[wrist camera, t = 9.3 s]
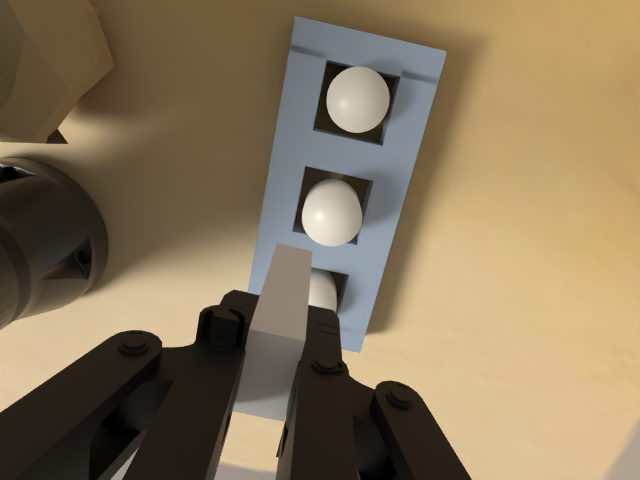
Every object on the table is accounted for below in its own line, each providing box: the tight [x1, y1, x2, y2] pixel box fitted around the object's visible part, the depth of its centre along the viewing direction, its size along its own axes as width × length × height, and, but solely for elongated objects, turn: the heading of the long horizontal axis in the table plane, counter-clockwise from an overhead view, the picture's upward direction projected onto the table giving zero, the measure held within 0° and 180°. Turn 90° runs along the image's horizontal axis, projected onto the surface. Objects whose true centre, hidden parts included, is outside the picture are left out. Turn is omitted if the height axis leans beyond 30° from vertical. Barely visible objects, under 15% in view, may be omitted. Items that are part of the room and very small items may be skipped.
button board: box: [248, 16, 447, 353], centre depth 37 cm, size 28×12×3 cm, turn 168°
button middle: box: [302, 179, 362, 246], centre depth 34 cm, size 5×5×4 cm
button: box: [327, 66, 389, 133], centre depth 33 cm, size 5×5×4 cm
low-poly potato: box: [0, 0, 115, 144], centre depth 31 cm, size 15×11×12 cm
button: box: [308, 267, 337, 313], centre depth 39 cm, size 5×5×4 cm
